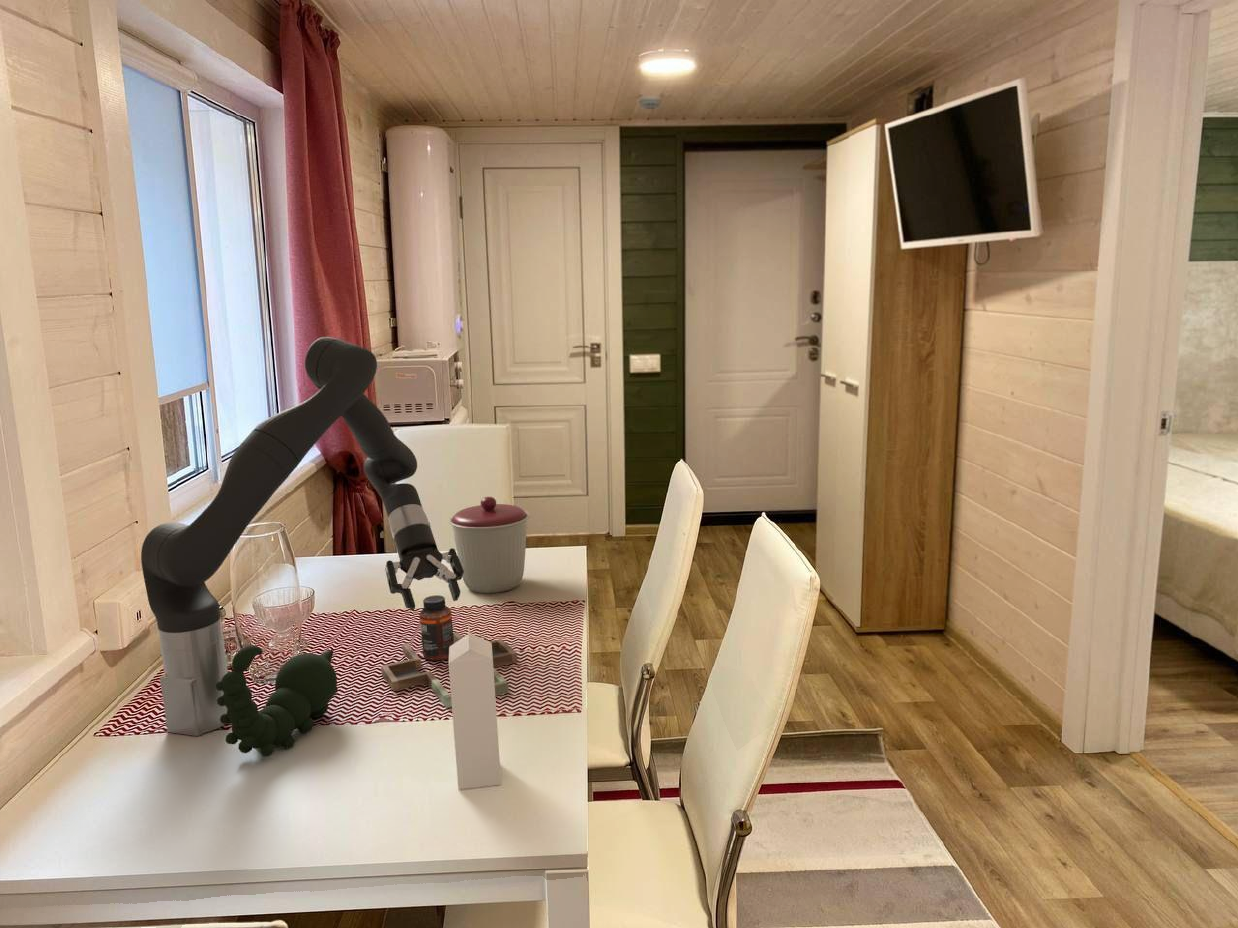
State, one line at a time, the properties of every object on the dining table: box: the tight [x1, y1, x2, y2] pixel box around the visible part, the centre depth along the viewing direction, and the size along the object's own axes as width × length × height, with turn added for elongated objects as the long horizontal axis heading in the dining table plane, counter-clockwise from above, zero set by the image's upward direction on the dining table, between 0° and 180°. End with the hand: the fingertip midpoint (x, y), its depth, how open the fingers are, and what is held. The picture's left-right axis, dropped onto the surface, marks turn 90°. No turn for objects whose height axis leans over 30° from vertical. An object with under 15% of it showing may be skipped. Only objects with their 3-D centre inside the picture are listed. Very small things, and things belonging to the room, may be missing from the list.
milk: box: [448, 625, 502, 791], centre depth 131 cm, size 6×6×22 cm
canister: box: [448, 496, 531, 594], centre depth 212 cm, size 18×18×21 cm
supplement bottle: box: [419, 595, 454, 662], centre depth 175 cm, size 6×6×11 cm
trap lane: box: [380, 631, 518, 709], centre depth 169 cm, size 27×23×2 cm
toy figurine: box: [216, 645, 339, 757], centre depth 146 cm, size 9×19×25 cm
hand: (434, 603), depth 178 cm, fingers open, 8 cm apart
